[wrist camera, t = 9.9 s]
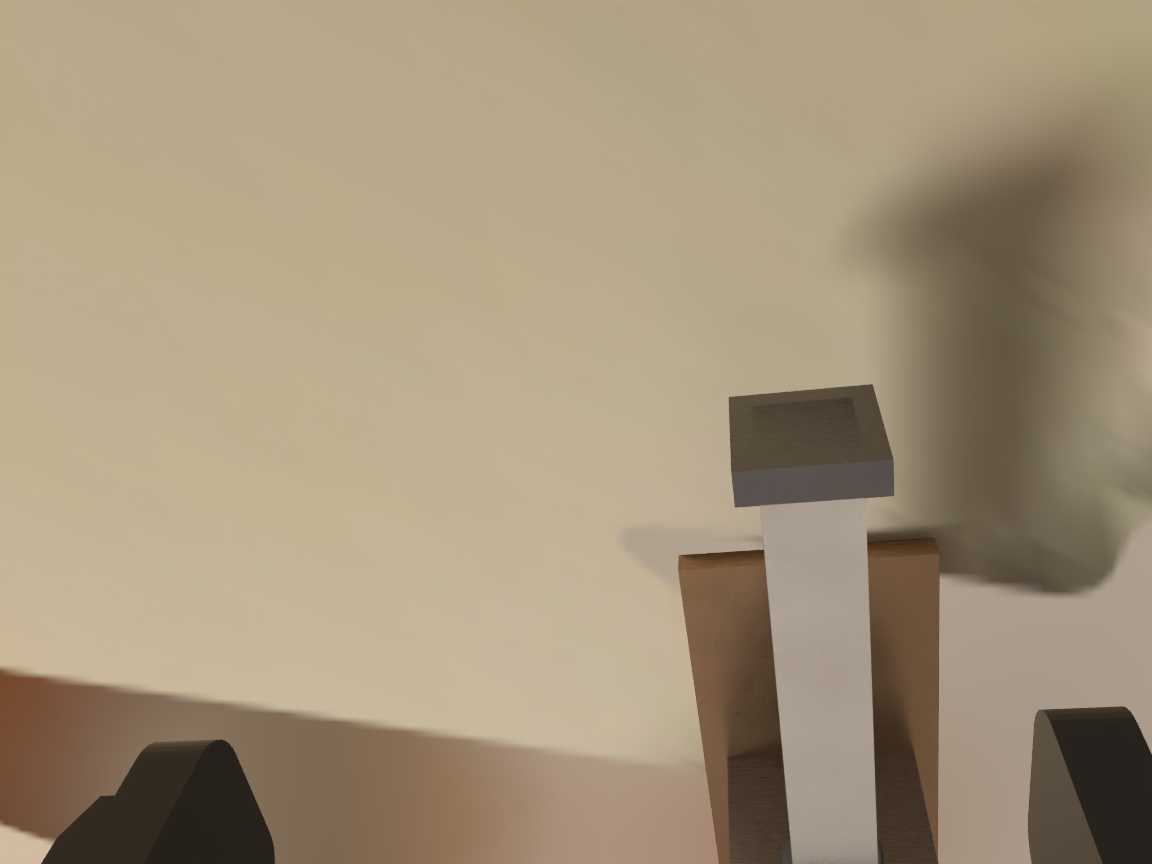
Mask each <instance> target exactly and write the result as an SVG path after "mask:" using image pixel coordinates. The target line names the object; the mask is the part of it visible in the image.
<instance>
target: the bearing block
mask: <svg viewBox="0 0 1152 864" xmlns="http://www.w3.org/2000/svg"><path fill="white" fill-rule="evenodd" d="M867 554H868V584H869V614H870V644H871V673H872V703H873V733H874V763H875V792H876V822H877V852H878V864H938V712H939V711H938V709H939V559H940V554H939V551H938V547H937V544H936V541H935V539H920V540H904V541H889V542H874V543H867ZM678 572H679V579H680V586H681V594H682V601H683V608H684V615H685V622H686V629H687V636H688V644H689V651H690V658H691V665H692V672H693V679H694V686H695V694H696V701H697V708H698V715H699V722H700V729H701V736H702V744H703V751H704V758H705V765H706V772H707V778H708V786H709V794H710V800H711V808H712V815H713V822H714V829H715V836H716V843H717V850H718V858H719V864H793V862H792V851H791V840H790V829H789V818H788V807H787V796H786V785H785V774H784V763H783V752H782V741H781V730H780V719H779V708H778V697H777V686H776V675H775V664H774V653H773V642H772V631H771V620H770V609H769V598H768V587H767V576H766V565H765V554H764V550H752V551H737V552H723V553H707V554H692V555H679V565H678Z"/></svg>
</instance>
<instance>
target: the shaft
mask: <svg viewBox="0 0 1152 864" xmlns="http://www.w3.org/2000/svg"><path fill="white" fill-rule="evenodd" d="M729 419H730V447H731V473H732V483H733V492H734V502H735V507H749V506H760V510H761V521H762V532H763V543H764V554H765V565H766V576H767V587H768V598H769V609H770V620H771V631H772V642H773V653H774V664H775V675H776V686H777V697H778V708H779V719H780V730H781V741H782V752H783V763H784V774H785V785H786V796H787V807H788V818H789V829H790V840H791V851H792V862H793V864H878V852H877V822H876V792H875V763H874V733H873V703H872V673H871V644H870V614H869V584H868V554H867V525H866V498H873V497H886V496H894V465H893V456H892V453H891V449H890V446H889V442H888V438H887V435H886V431H885V428H884V424H883V420H882V417H881V413H880V410H879V406H878V403H877V399H876V395H875V392H874V388H873V385H872V384H871V385H859V386H848V387H837V388H826V389H815V390H804V391H793V392H781V393H770V394H759V395H748V396H737V397H729Z"/></svg>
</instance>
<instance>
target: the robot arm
mask: <svg viewBox="0 0 1152 864" xmlns="http://www.w3.org/2000/svg"><path fill="white" fill-rule="evenodd" d="M1028 836H1029V847H1030V854H1031V861H1032V864H1152V754H1151V752H1150V750H1149V748H1148V745H1147V743H1146V741H1145V739H1144V737H1143V735H1142V732H1141V730H1140V728H1139V726H1138V724H1137V722H1136V720H1135V718H1134V716H1133V715H1132V713H1131V712H1130V711H1129V710H1128V709H1127V708H1126V707H1101V708H1077V709H1076V708H1075V709H1049V710H1039V711H1038V712H1037V714H1036V717H1035V723H1034V736H1033V751H1032V768H1031V782H1030V797H1029V813H1028ZM274 857H275V856H274V846H273V842H272V837H271V835H270V832H269V830H268V827H267V825H266V823H265V820H264V818H263V816H262V813H261V811H260V809H259V806H258V804H257V802H256V800H255V797H254V795H253V793H252V790H251V788H250V786H249V783H248V781H247V779H246V776H245V774H244V772H243V770H242V767H241V765H240V763H239V760H238V758H237V756H236V753H235V752H234V750H233V748H232V747H231V746H230V744H229V743H227V742H226V741H224V740H202V741H177V742H155V743H152V744H150V745H148V746H147V747H146V748H145V749H144V750H143V751H142V752H141V753H140V754H139V756H138V758H137V759H136V761H135V762H134V764H133V766H132V768H131V769H130V771H129V773H128V774H127V776H126V778H125V779H124V781H123V783H122V784H121V786H120V788H119V790H118V791H117V793H116V794H115V796H100V797H99V798H98V799H97V800H96V801H95V802H94V803H93V804H92V805H91V806H90V807H89V808H88V809H87V810H86V811H85V812H84V813H83V814H82V815H80V816H79V817H78V818H77V819H76V820H75V821H74V822H73V823H72V824H71V825H70V826H69V827H68V828H67V829H66V830H65V831H64V832H63V833H62V834H61V835H60V836H59V837H57V839H56V841H55V842H54V844H53V845H52V847H51V849H50V850H49V852H48V853H47V855H46V857H45V858H44V860H43V861H42V863H41V864H275V858H274Z"/></svg>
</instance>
